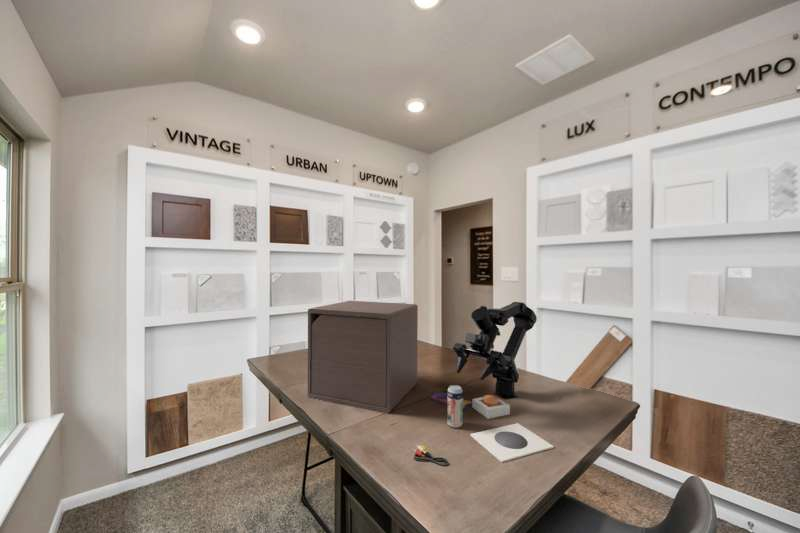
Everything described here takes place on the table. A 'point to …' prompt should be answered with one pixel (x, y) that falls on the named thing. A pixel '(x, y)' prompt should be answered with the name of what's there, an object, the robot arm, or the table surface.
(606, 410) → the table surface
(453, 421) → the beer can
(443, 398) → the smartphone
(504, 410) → the button housing
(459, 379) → the table surface
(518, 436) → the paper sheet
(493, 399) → the button
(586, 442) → the table surface
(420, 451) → the composite cable
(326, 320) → the storage cube
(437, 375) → the table surface
